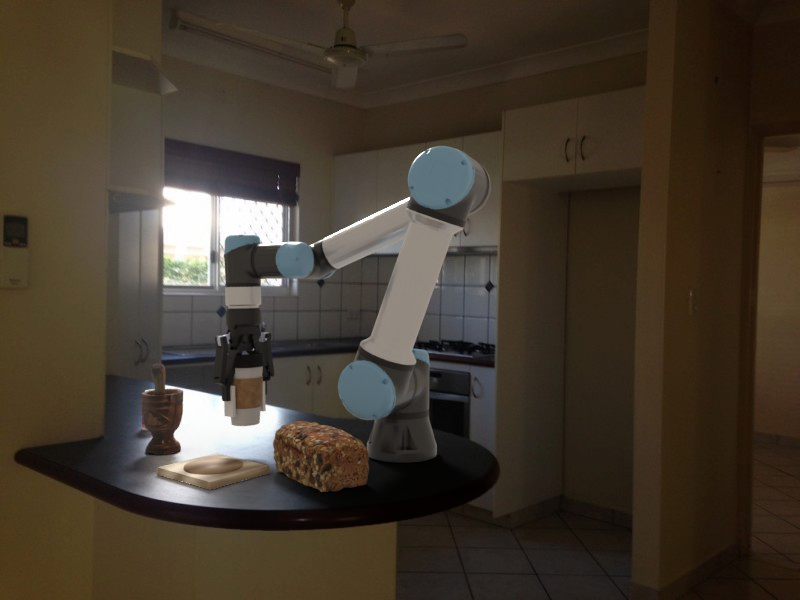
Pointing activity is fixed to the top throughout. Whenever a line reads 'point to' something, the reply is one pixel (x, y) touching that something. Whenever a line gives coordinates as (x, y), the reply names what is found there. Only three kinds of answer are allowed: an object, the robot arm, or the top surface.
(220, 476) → the board
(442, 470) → the top surface
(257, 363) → the coffee cup
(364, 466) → the bread
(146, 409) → the mortar and pestle
